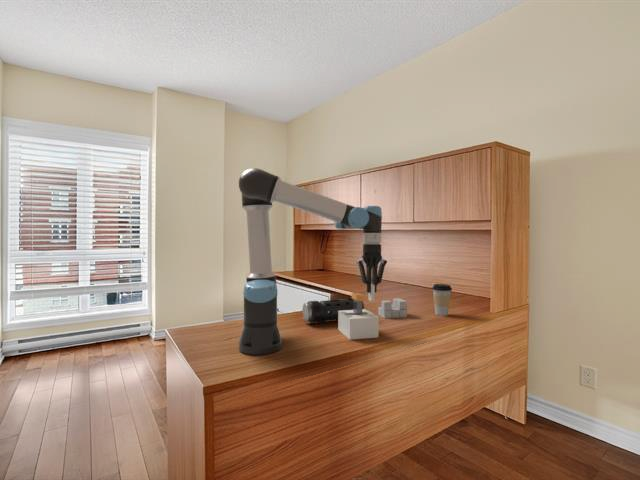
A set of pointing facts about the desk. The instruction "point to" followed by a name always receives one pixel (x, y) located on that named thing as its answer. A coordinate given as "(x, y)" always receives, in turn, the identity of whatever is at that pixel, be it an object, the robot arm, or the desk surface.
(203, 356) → the desk surface
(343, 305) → the muzzle brake
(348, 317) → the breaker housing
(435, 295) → the coffee cup
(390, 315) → the puzzle cube
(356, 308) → the breaker toggle
